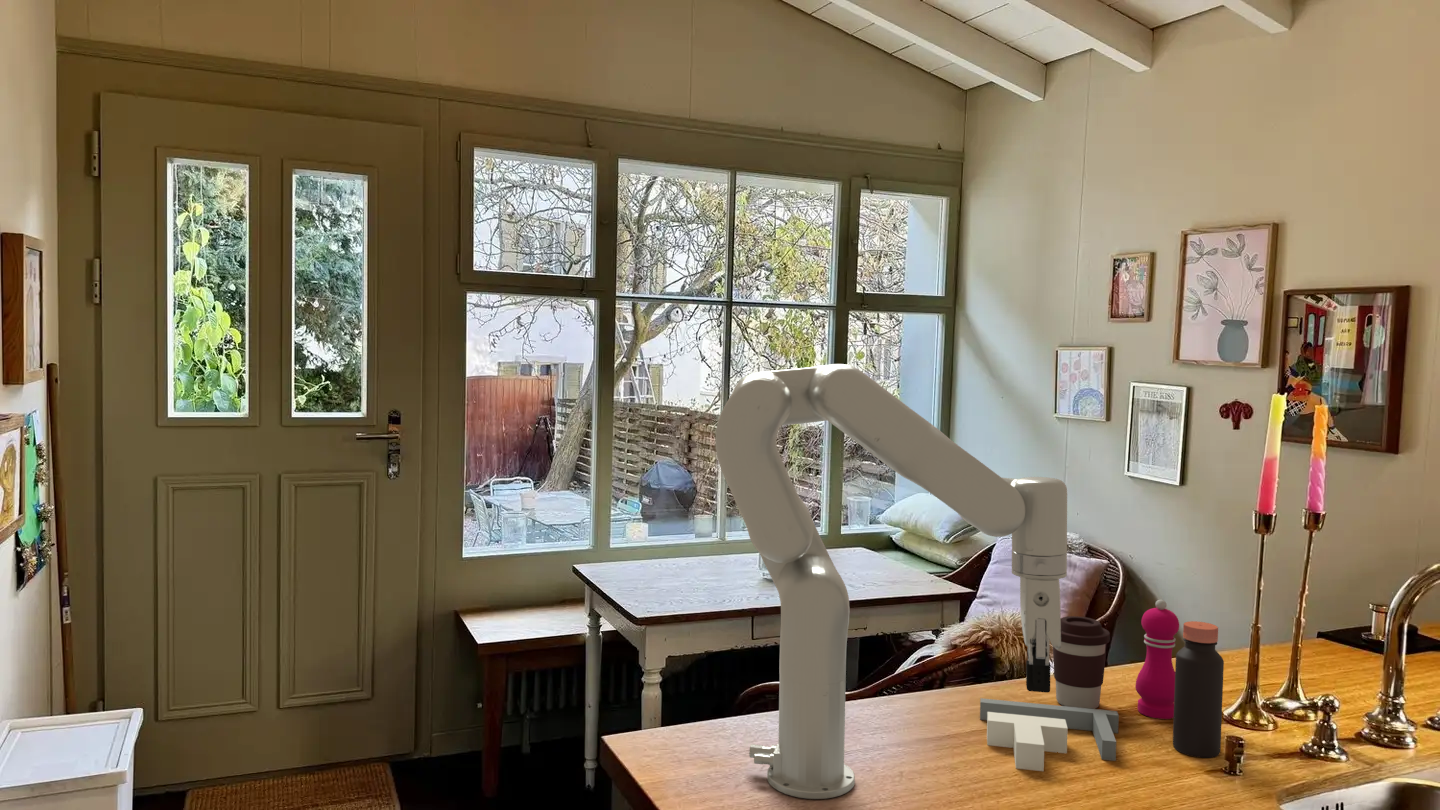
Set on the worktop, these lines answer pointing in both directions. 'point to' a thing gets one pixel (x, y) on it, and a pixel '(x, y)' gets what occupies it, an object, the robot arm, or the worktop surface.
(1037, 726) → the t block
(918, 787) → the worktop surface
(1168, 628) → the pepper mill
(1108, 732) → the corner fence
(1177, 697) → the bottle
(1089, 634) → the coffee cup
